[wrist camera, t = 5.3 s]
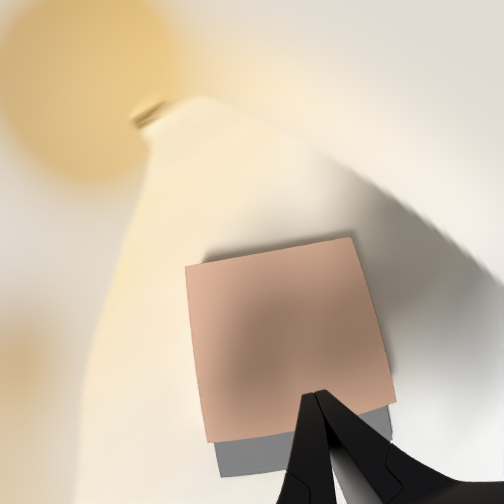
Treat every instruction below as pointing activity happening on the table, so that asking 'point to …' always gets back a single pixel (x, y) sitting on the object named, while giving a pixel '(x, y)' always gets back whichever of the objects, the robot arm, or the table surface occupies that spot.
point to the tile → (283, 337)
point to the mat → (277, 448)
